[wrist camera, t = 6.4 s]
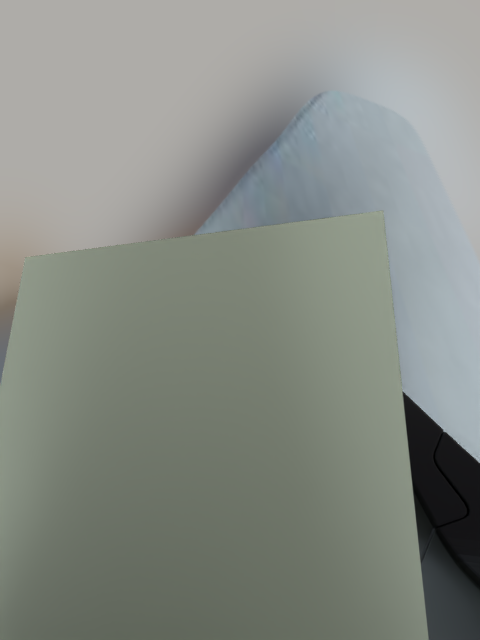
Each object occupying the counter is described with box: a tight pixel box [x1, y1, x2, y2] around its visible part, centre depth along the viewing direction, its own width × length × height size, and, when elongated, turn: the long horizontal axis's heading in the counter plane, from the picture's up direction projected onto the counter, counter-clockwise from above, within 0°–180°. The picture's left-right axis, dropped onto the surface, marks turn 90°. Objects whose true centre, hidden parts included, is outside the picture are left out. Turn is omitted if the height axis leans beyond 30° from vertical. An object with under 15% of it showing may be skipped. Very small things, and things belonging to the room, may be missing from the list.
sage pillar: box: [0, 211, 429, 640], centre depth 9 cm, size 5×5×13 cm
